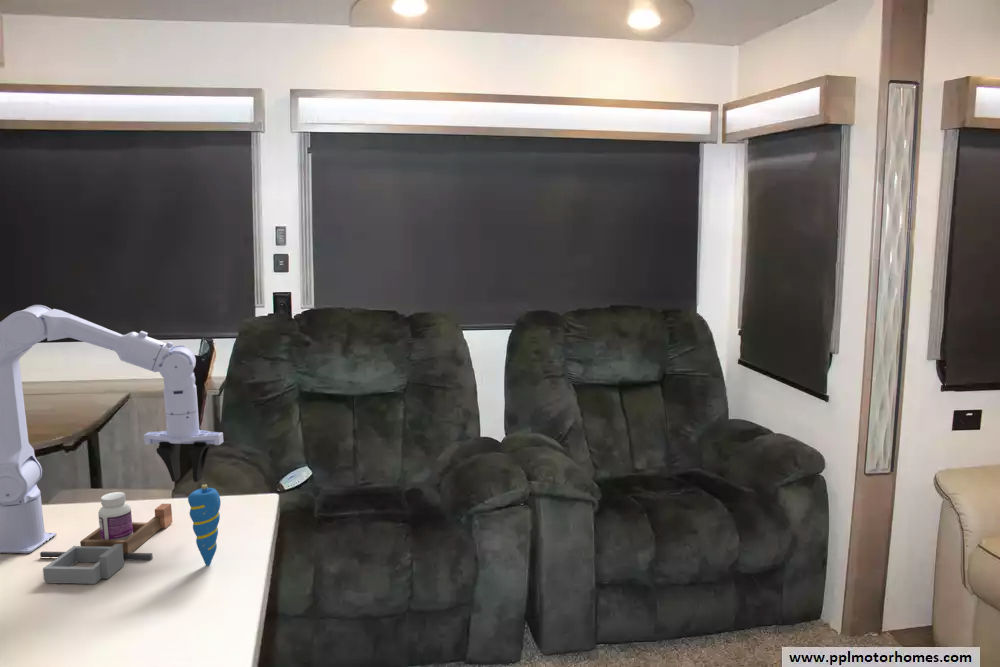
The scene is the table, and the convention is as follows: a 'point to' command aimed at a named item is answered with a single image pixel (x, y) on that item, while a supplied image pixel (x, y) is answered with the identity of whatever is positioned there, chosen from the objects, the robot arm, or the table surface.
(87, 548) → the gray rectangular frame
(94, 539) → the frame
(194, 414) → the robot arm
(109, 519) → the pill bottle
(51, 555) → the rail
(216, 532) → the ornament
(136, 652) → the table surface
